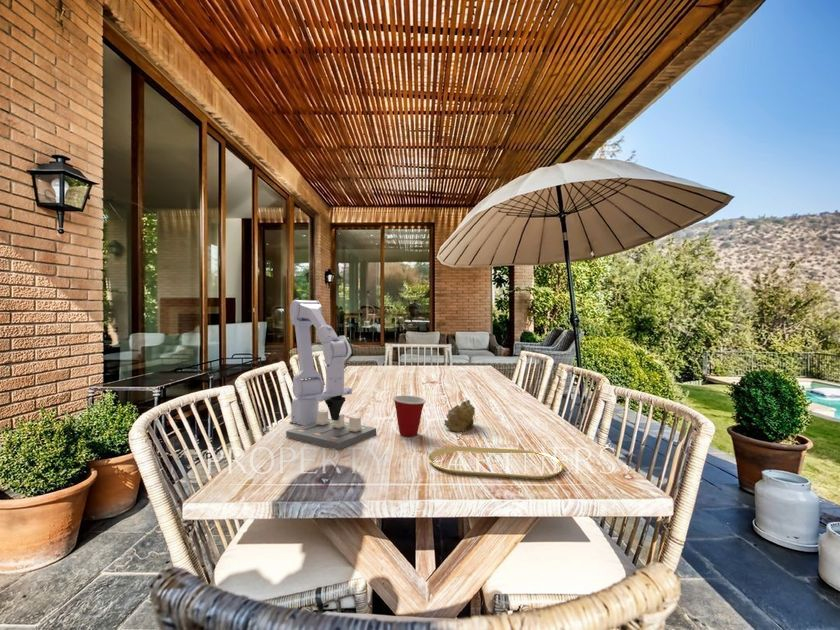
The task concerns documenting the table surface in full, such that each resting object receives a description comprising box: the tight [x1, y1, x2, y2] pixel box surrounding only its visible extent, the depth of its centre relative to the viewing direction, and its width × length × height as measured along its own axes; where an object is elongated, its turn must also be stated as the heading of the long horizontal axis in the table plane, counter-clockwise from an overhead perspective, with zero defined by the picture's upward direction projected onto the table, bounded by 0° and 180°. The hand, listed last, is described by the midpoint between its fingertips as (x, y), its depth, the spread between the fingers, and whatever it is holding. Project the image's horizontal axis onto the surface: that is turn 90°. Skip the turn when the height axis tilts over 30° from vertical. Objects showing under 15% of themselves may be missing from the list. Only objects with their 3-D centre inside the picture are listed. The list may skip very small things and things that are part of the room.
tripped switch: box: [332, 413, 346, 428], centre depth 135 cm, size 3×3×4 cm
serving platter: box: [428, 445, 564, 480], centre depth 109 cm, size 19×35×2 cm, turn 82°
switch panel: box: [285, 418, 377, 451], centre depth 132 cm, size 22×18×2 cm
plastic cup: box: [393, 395, 427, 438], centre depth 135 cm, size 11×11×12 cm
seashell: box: [443, 399, 476, 433], centre depth 145 cm, size 11×14×10 cm
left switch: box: [316, 409, 330, 425], centre depth 138 cm, size 3×3×4 cm
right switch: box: [348, 415, 362, 432], centre depth 131 cm, size 3×3×4 cm
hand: (334, 419), depth 133 cm, fingers closed
